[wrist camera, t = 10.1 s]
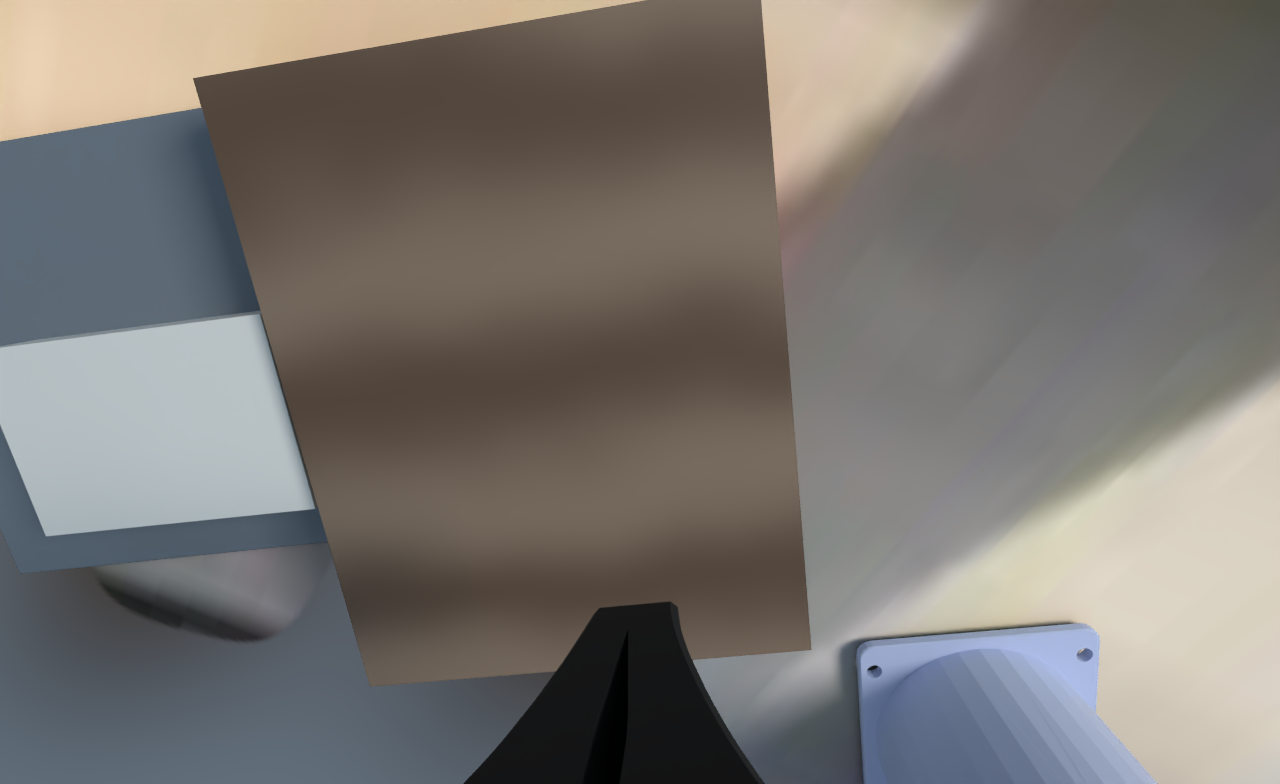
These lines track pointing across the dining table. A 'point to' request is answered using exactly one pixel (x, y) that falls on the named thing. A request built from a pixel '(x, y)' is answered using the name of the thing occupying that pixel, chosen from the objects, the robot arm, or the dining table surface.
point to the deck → (531, 329)
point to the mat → (121, 296)
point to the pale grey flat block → (152, 425)
